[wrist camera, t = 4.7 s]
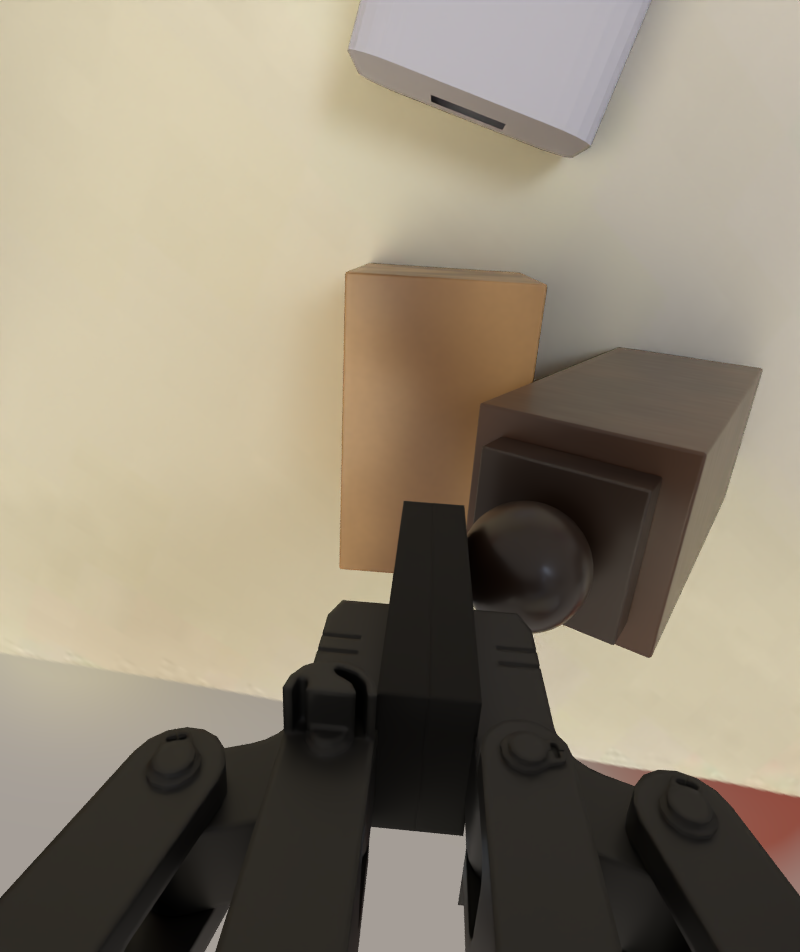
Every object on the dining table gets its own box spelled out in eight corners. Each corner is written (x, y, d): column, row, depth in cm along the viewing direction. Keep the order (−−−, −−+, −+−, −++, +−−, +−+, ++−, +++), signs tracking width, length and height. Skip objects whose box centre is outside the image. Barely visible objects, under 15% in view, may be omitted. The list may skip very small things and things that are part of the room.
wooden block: (521, 272, 26) (548, 284, 20) (490, 510, 31) (504, 583, 25) (367, 263, 27) (344, 271, 20) (359, 500, 31) (339, 569, 25)
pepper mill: (720, 352, 28) (1141, 508, 12) (689, 470, 30) (1007, 730, 14) (434, 336, 27) (481, 474, 12) (424, 456, 30) (453, 706, 14)
